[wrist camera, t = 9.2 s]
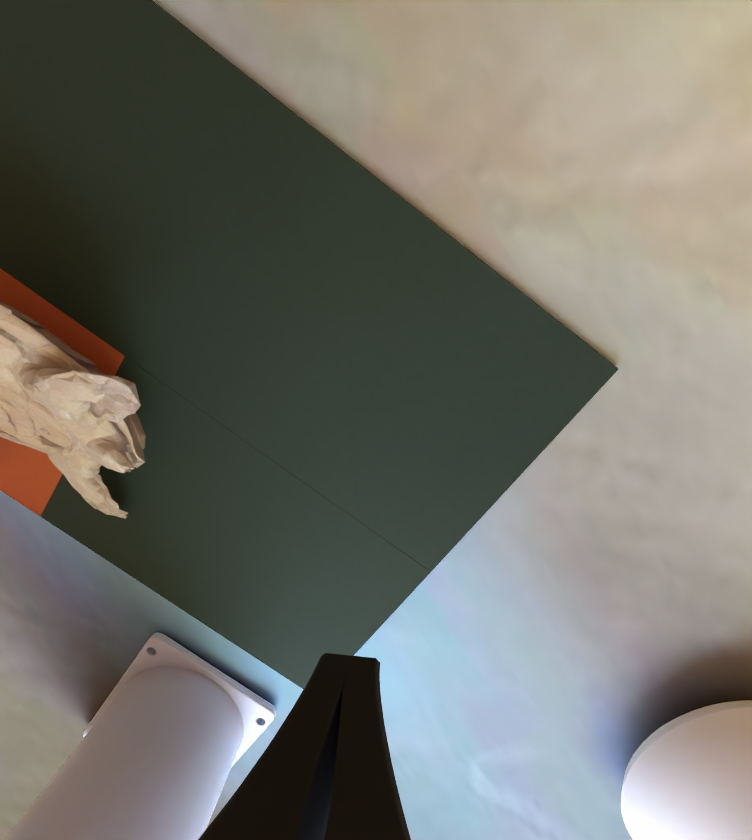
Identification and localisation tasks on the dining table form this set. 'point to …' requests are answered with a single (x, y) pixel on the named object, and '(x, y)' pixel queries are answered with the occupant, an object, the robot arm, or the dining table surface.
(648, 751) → the flower in vase
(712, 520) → the dining table surface
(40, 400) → the beige animal figurine
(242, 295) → the play mat
